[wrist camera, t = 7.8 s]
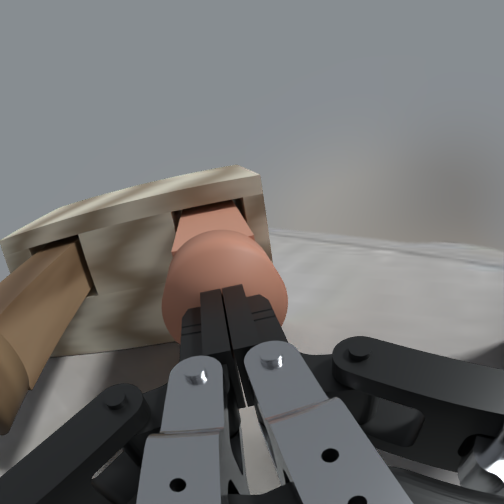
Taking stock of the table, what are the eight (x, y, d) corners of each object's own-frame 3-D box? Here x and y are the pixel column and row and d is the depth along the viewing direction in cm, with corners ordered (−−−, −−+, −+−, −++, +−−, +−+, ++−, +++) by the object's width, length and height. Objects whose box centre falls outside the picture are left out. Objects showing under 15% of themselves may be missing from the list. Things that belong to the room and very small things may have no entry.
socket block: (49, 357, 20) (-1, 240, 16) (88, 293, 31) (60, 207, 27) (280, 319, 22) (260, 174, 18) (252, 260, 33) (236, 164, 29)
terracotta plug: (181, 368, 11) (145, 264, 10) (189, 242, 26) (178, 192, 25) (292, 345, 12) (280, 237, 10) (239, 232, 27) (231, 182, 25)
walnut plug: (-30, 428, 7) (-85, 347, 5) (67, 282, 22) (50, 232, 20) (30, 440, 7) (-39, 345, 5) (113, 273, 22) (97, 219, 21)
